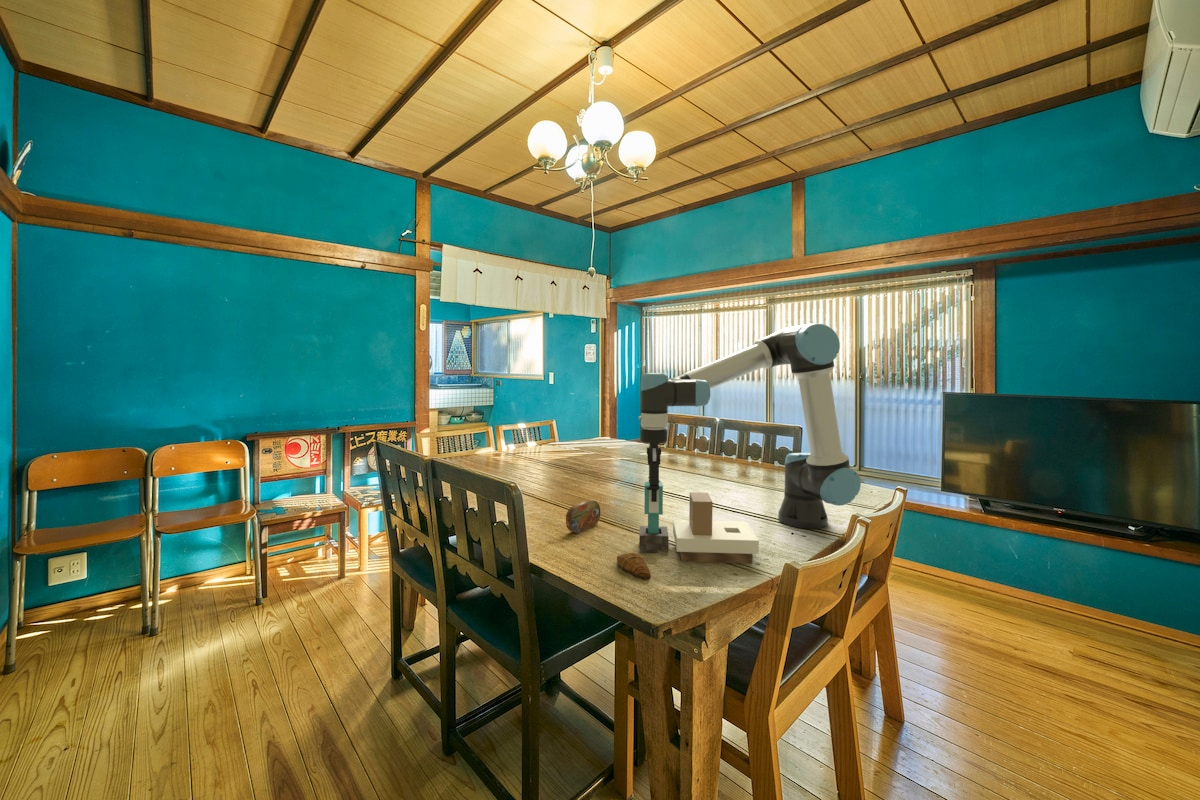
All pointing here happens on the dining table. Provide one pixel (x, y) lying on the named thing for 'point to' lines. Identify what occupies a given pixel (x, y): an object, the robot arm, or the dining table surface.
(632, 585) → the dining table surface
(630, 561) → the croissant
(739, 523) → the lid
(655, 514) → the teal block
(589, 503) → the tin
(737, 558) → the brown wooden open box
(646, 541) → the holder
